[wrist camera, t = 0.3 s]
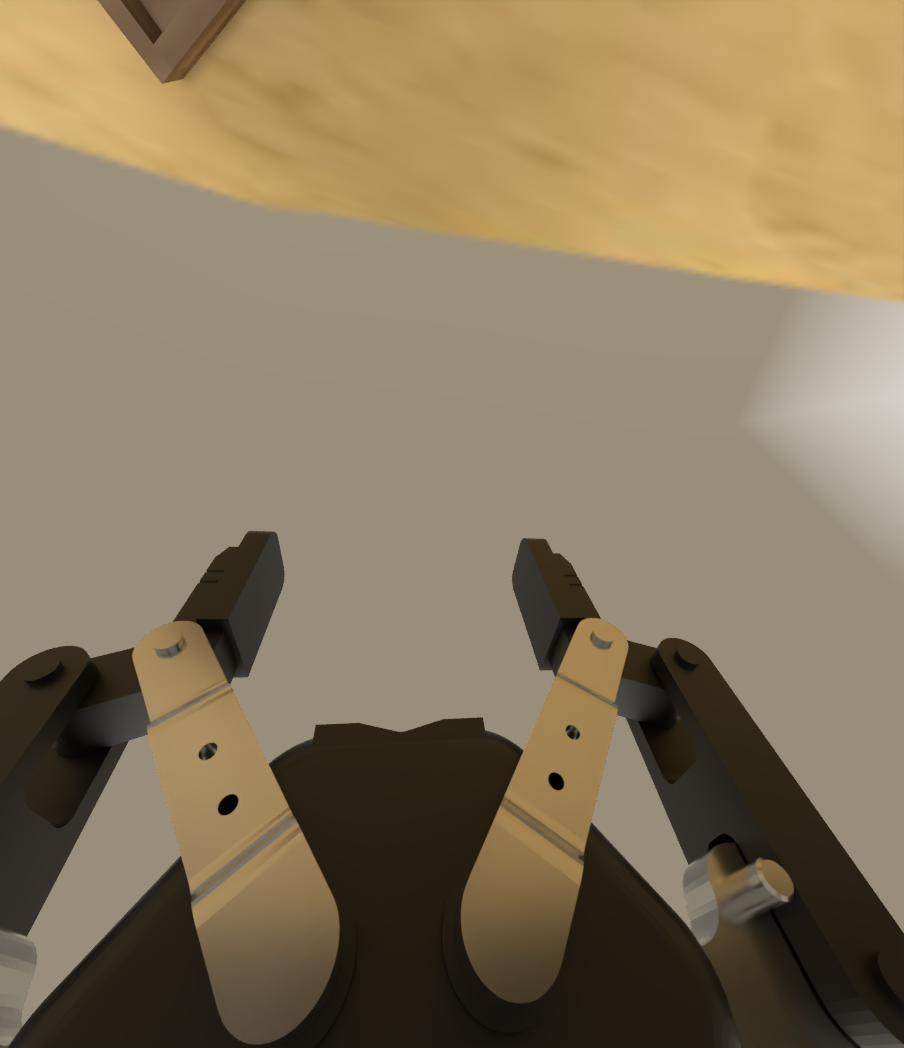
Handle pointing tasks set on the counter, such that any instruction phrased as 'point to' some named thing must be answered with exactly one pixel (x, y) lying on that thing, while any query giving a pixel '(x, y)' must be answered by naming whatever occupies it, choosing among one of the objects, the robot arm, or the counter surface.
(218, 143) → the counter surface
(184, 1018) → the robot arm
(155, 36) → the tray
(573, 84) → the counter surface
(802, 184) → the counter surface
